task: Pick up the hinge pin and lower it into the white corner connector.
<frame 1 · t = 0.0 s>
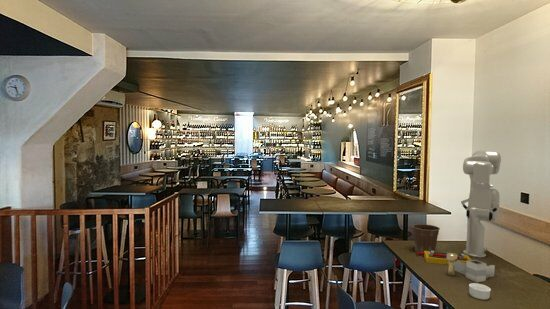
hand: (479, 219, 185), 31 cm above the table, tool pointing down, fingers open, 9 cm apart
mechanical clamp: (445, 263, 211), on the table
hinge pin: (451, 274, 191), on the table
plant pot: (424, 252, 230), on the table
ramekin: (479, 296, 166), on the table
white corner connector: (475, 279, 185), on the table
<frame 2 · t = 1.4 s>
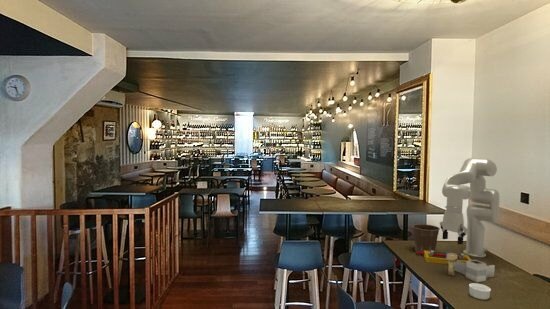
hand: (452, 241, 190), 18 cm above the table, tool pointing down, fingers open, 9 cm apart
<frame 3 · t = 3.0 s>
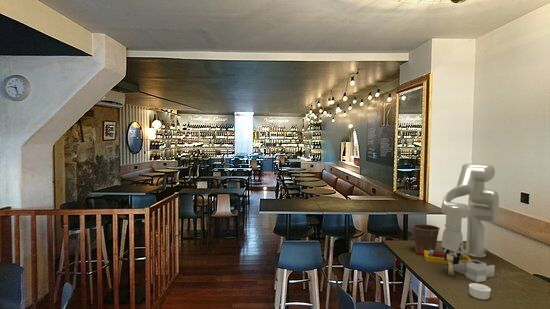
hand: (451, 261, 191), 7 cm above the table, tool pointing down, fingers closed on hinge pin, 5 cm apart
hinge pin: (451, 274, 191), on the table, touching gripper
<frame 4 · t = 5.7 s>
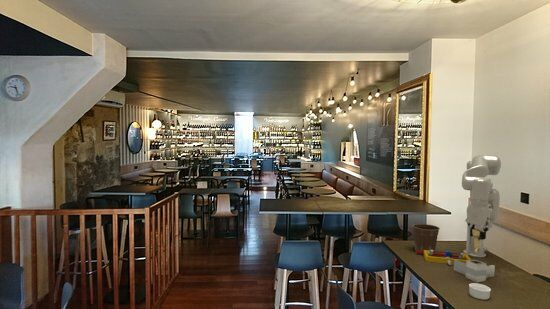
hand: (477, 237, 184), 22 cm above the table, tool pointing down, fingers closed on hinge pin, 5 cm apart
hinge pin: (476, 250, 185), point 15 cm above the table, touching gripper
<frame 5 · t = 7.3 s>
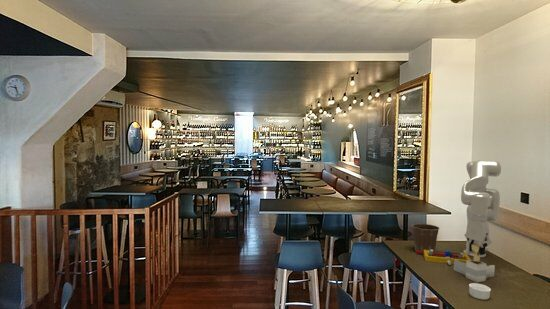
hand: (476, 252, 185), 14 cm above the table, tool pointing down, fingers closed on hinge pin, 5 cm apart
mechanical clamp: (444, 261, 213), on the table, touching plant pot
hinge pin: (476, 265, 185), point 7 cm above the table, touching gripper
plant pot: (424, 251, 231), on the table, touching mechanical clamp
everything else where it was.
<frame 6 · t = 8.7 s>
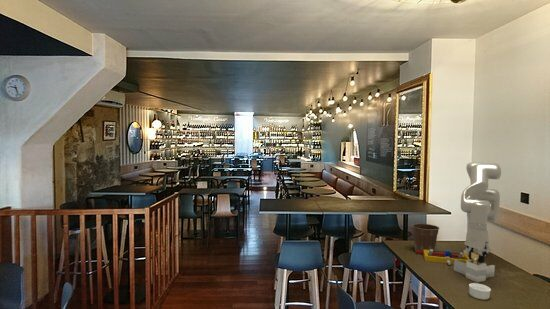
hand: (476, 260, 185), 10 cm above the table, tool pointing down, fingers closed on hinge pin, 5 cm apart
mechanical clamp: (443, 261, 214), on the table
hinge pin: (475, 273, 185), point 3 cm above the table, touching gripper
plant pot: (424, 251, 231), on the table
everything else where it was.
when the fingers open (10 cm above the table, at t = 8.8 s): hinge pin drops 2 cm, resting on white corner connector.
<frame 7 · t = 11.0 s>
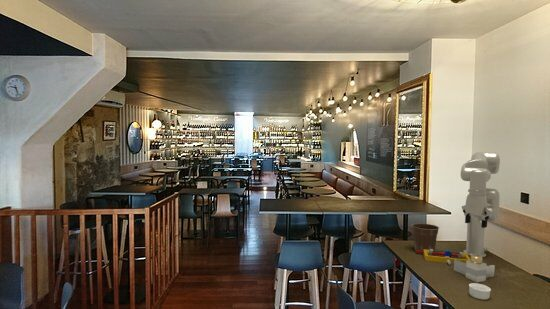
hand: (475, 225, 189), 27 cm above the table, tool pointing down, fingers open, 9 cm apart
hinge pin: (475, 277, 185), point 1 cm above the table, touching white corner connector
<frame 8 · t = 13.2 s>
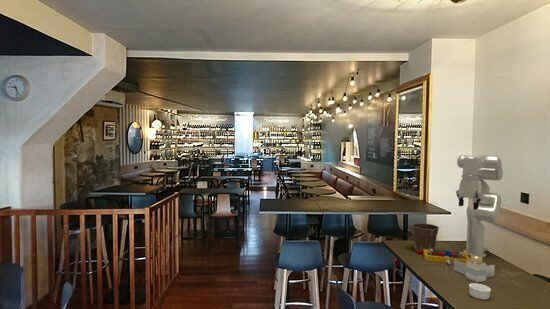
hand: (468, 207, 206), 33 cm above the table, tool pointing down, fingers open, 9 cm apart
at the end: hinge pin 0.0 cm off-centre on the white corner connector, point 1.0 cm above the white corner connector's base; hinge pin tilted 0°; the gripper is holding nothing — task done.
